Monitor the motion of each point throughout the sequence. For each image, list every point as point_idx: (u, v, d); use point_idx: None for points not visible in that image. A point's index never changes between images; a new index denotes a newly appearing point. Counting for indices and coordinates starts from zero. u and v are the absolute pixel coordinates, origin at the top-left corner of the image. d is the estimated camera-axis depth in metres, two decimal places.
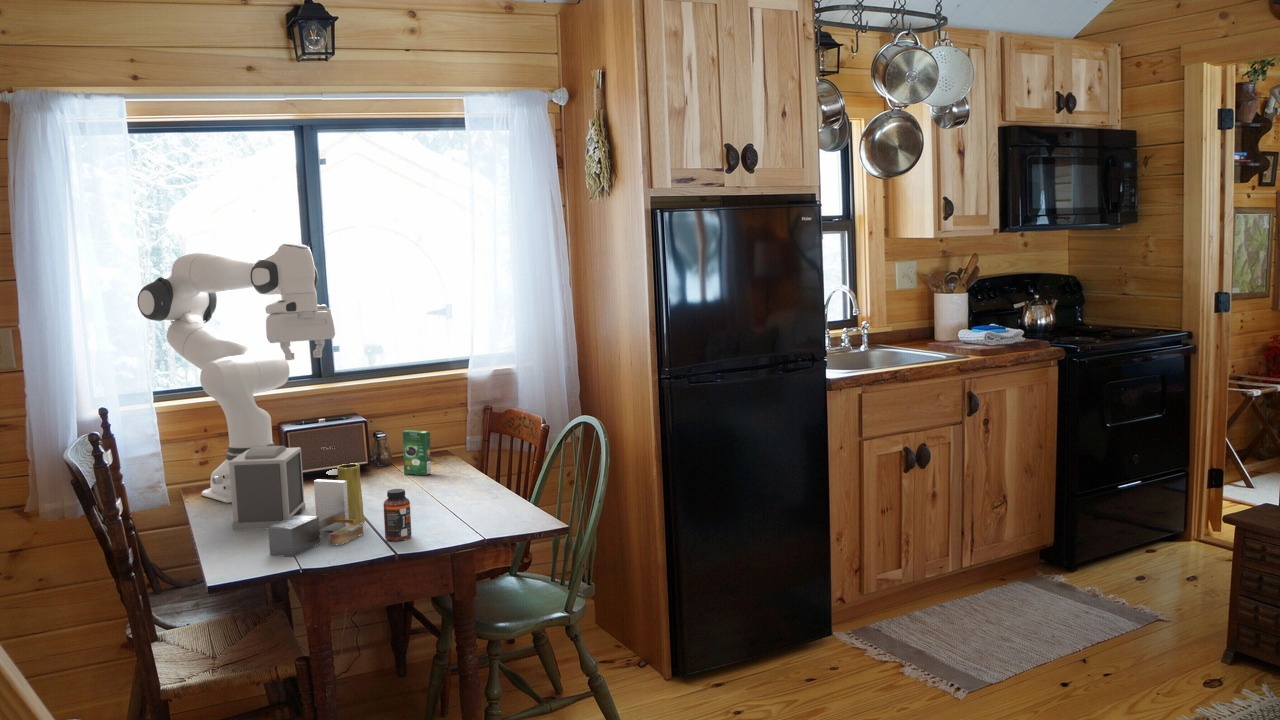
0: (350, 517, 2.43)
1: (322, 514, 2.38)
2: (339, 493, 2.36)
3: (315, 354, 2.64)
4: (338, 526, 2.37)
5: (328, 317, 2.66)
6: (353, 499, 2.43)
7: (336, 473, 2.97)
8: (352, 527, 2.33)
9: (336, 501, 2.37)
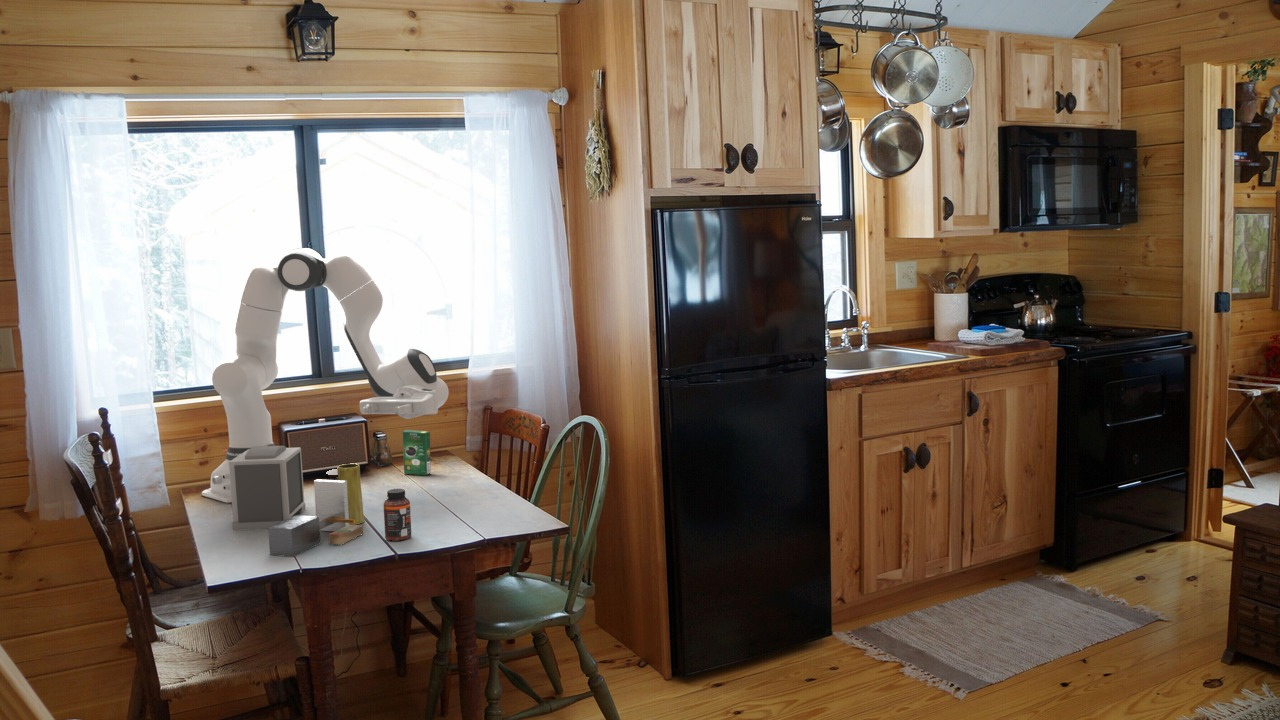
0: (350, 517, 2.43)
1: (322, 514, 2.38)
2: (339, 493, 2.36)
3: (369, 410, 2.61)
4: (338, 526, 2.37)
5: None
6: (353, 499, 2.43)
7: (336, 473, 2.97)
8: (352, 527, 2.33)
9: (336, 501, 2.37)
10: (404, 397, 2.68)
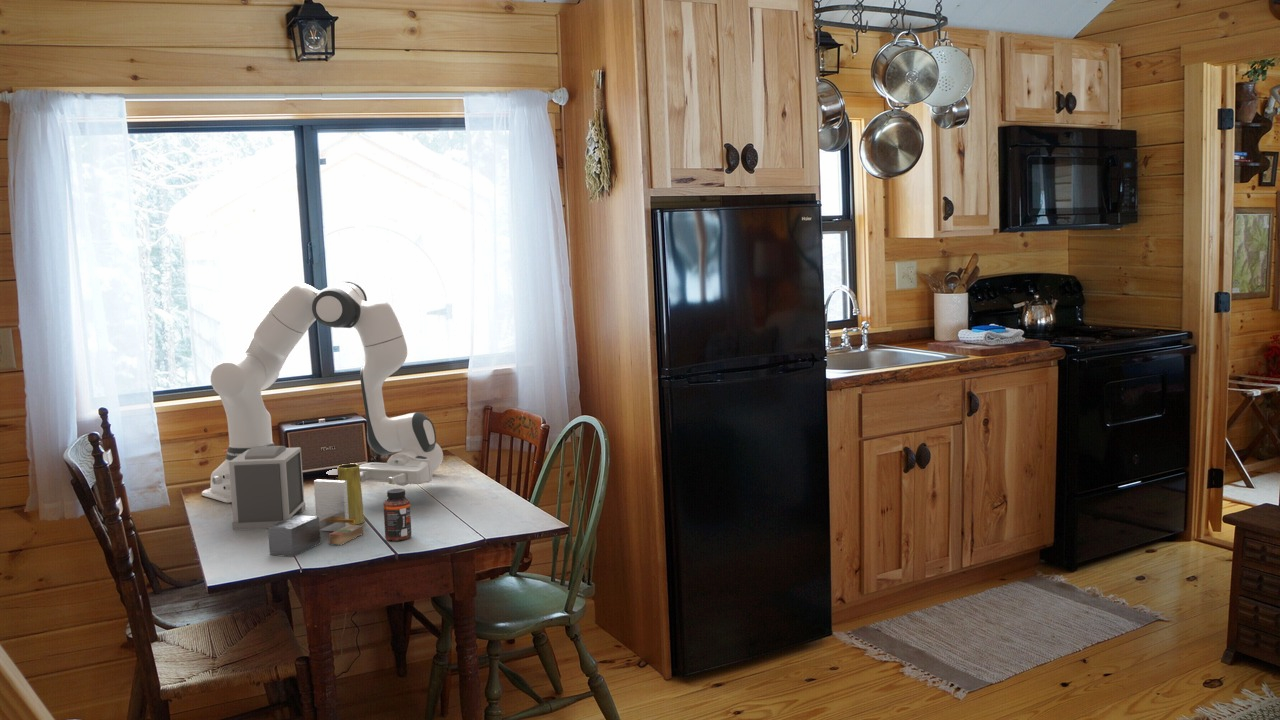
0: (350, 517, 2.43)
1: (322, 514, 2.38)
2: (339, 493, 2.36)
3: (362, 478, 2.58)
4: (338, 526, 2.37)
5: None
6: (353, 499, 2.43)
7: (336, 473, 2.97)
8: (352, 527, 2.33)
9: (336, 501, 2.37)
10: (398, 464, 2.65)
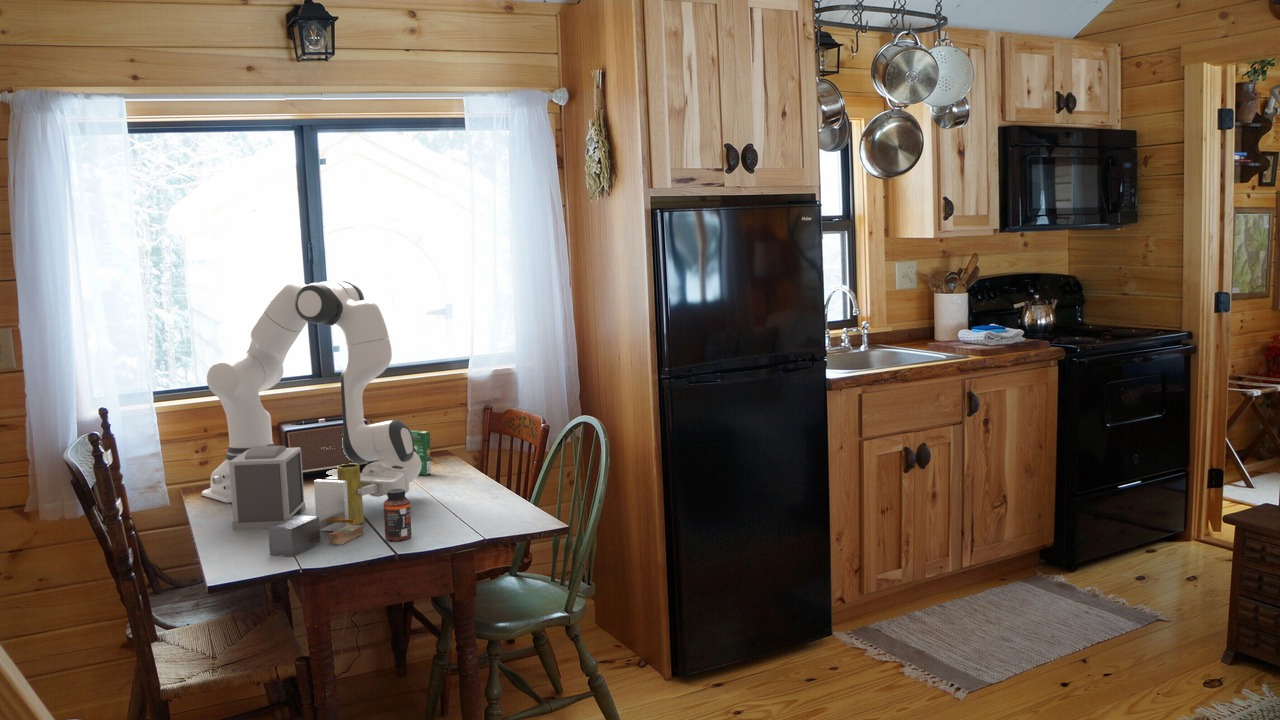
0: (350, 517, 2.43)
1: (322, 514, 2.38)
2: (339, 493, 2.36)
3: None
4: (338, 526, 2.37)
5: None
6: (353, 499, 2.43)
7: (336, 473, 2.97)
8: (352, 527, 2.33)
9: (336, 501, 2.37)
10: (373, 474, 2.54)
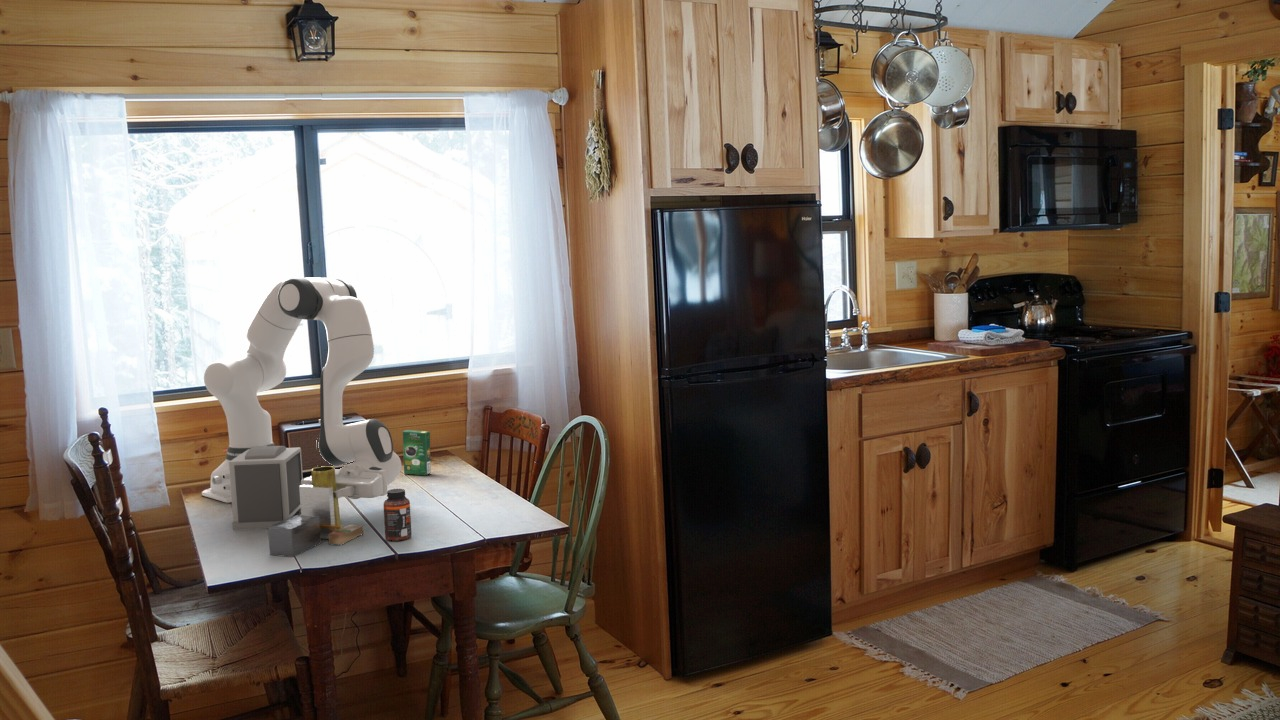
0: None
1: None
2: (325, 499, 2.31)
3: None
4: (324, 533, 2.32)
5: None
6: None
7: (336, 473, 2.97)
8: (352, 527, 2.33)
9: (322, 507, 2.32)
10: (350, 476, 2.44)
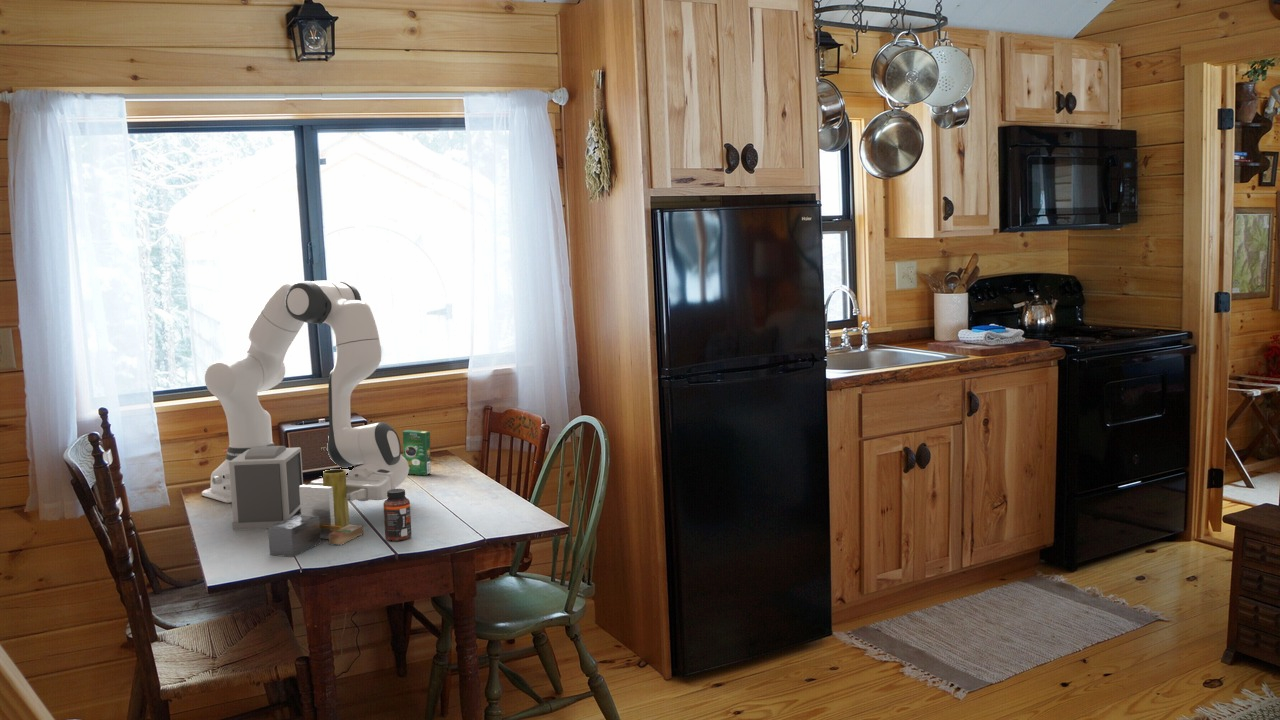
0: (335, 524, 2.38)
1: None
2: (325, 499, 2.31)
3: None
4: (324, 533, 2.32)
5: None
6: (339, 505, 2.38)
7: None
8: (352, 527, 2.33)
9: (322, 507, 2.32)
10: (358, 479, 2.48)
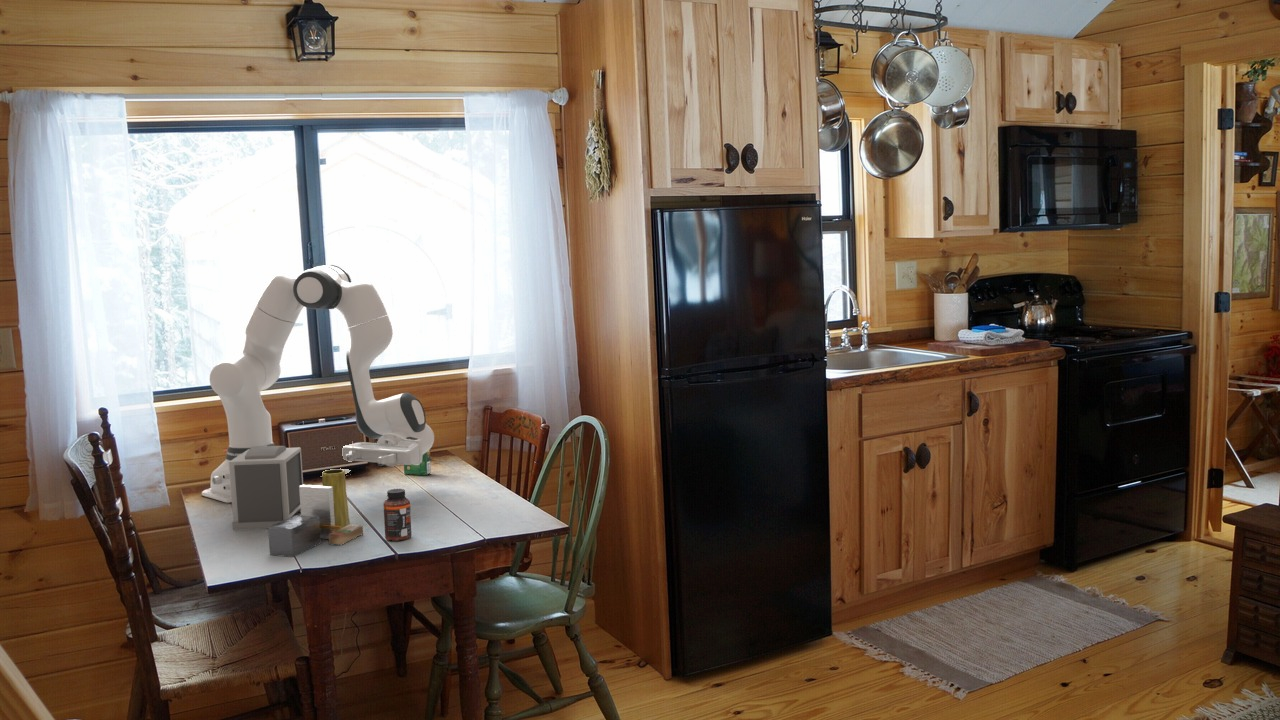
0: (335, 524, 2.38)
1: None
2: (325, 499, 2.31)
3: (351, 457, 2.55)
4: (324, 533, 2.32)
5: None
6: (339, 505, 2.38)
7: None
8: (352, 527, 2.33)
9: (322, 507, 2.32)
10: (388, 445, 2.62)
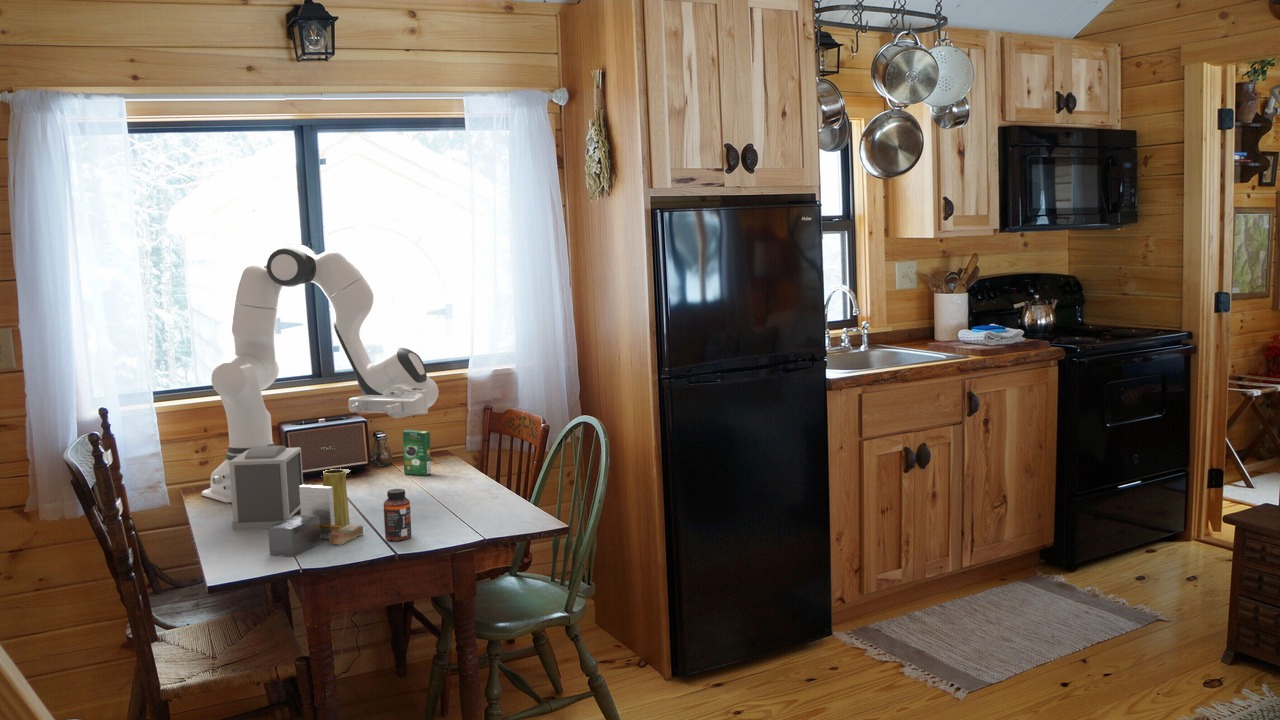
0: (336, 524, 2.38)
1: None
2: (325, 499, 2.31)
3: (358, 408, 2.58)
4: (324, 533, 2.32)
5: None
6: (339, 505, 2.38)
7: None
8: (352, 527, 2.33)
9: (322, 507, 2.32)
10: (394, 396, 2.65)
